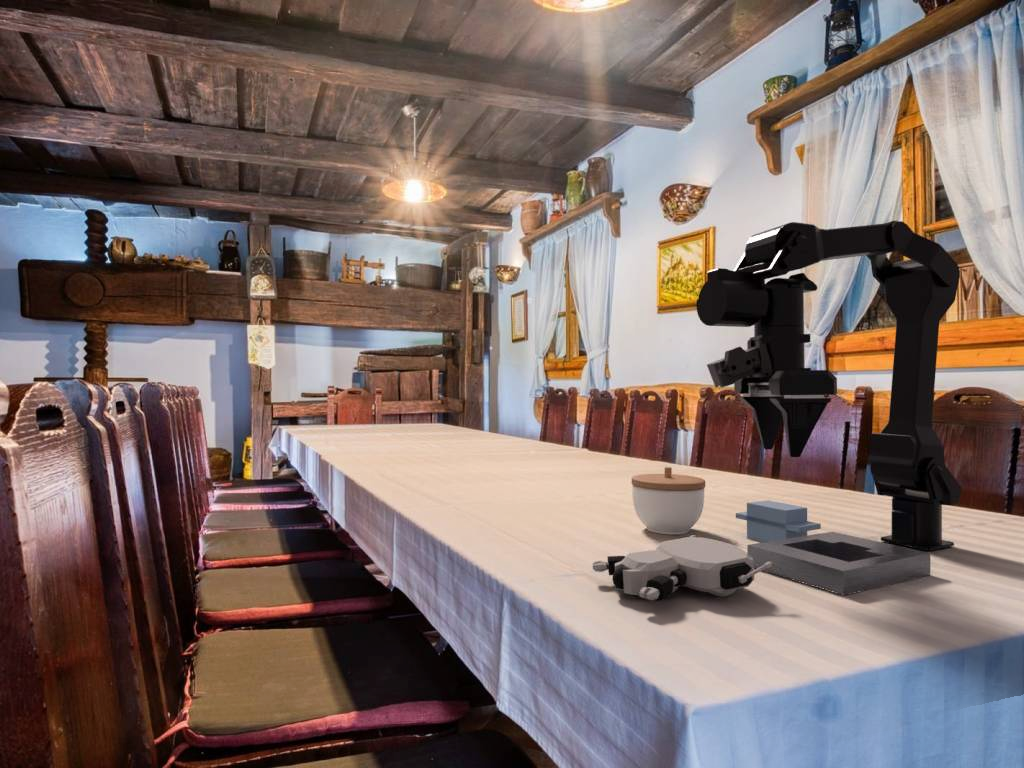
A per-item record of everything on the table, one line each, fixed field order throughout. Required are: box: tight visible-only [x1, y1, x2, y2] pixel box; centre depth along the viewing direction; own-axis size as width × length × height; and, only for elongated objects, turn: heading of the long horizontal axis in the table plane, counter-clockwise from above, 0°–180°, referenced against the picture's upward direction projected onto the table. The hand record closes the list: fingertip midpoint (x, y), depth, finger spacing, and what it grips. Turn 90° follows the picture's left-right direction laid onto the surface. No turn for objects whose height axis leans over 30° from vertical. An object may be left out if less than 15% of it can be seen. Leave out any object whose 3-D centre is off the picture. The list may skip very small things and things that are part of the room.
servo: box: [735, 500, 822, 543], centre depth 87 cm, size 6×10×5 cm, turn 29°
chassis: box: [746, 531, 931, 596], centre depth 72 cm, size 16×12×2 cm
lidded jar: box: [631, 466, 706, 536], centre depth 93 cm, size 11×11×9 cm
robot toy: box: [592, 534, 773, 602], centre depth 64 cm, size 12×4×15 cm
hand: (780, 452), depth 77 cm, fingers open, 9 cm apart
